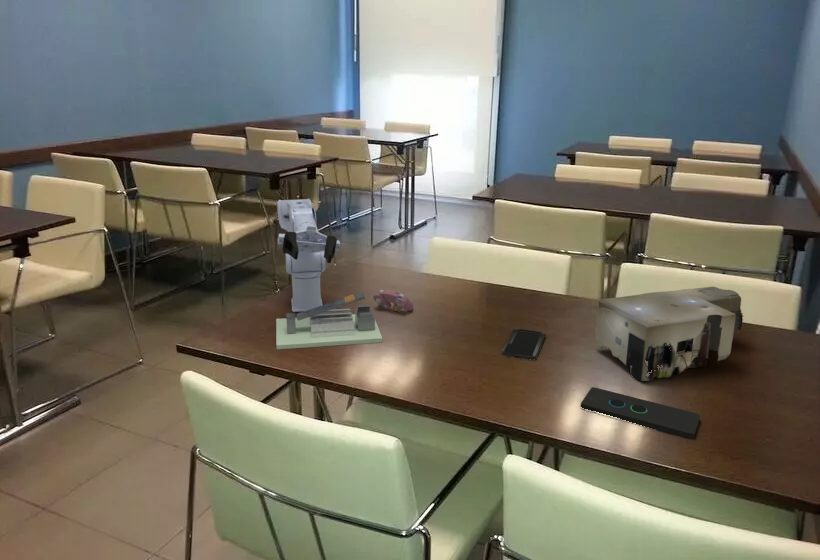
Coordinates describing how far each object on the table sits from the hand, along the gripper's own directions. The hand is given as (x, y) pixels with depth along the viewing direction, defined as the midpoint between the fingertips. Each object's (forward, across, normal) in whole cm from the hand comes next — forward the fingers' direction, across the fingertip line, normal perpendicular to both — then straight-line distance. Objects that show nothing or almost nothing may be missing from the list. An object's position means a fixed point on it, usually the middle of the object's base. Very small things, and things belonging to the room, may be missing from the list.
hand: (313, 257), depth 145 cm
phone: (+19, +48, +9) cm, 53 cm away
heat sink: (+1, +7, +17) cm, 19 cm away
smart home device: (+52, +55, +2) cm, 76 cm away
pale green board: (+1, +6, +18) cm, 20 cm away
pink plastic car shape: (-9, +25, +17) cm, 32 cm away
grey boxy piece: (+30, +76, +2) cm, 82 cm away
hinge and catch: (+1, +7, +17) cm, 19 cm away
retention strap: (0, +6, +12) cm, 14 cm away
